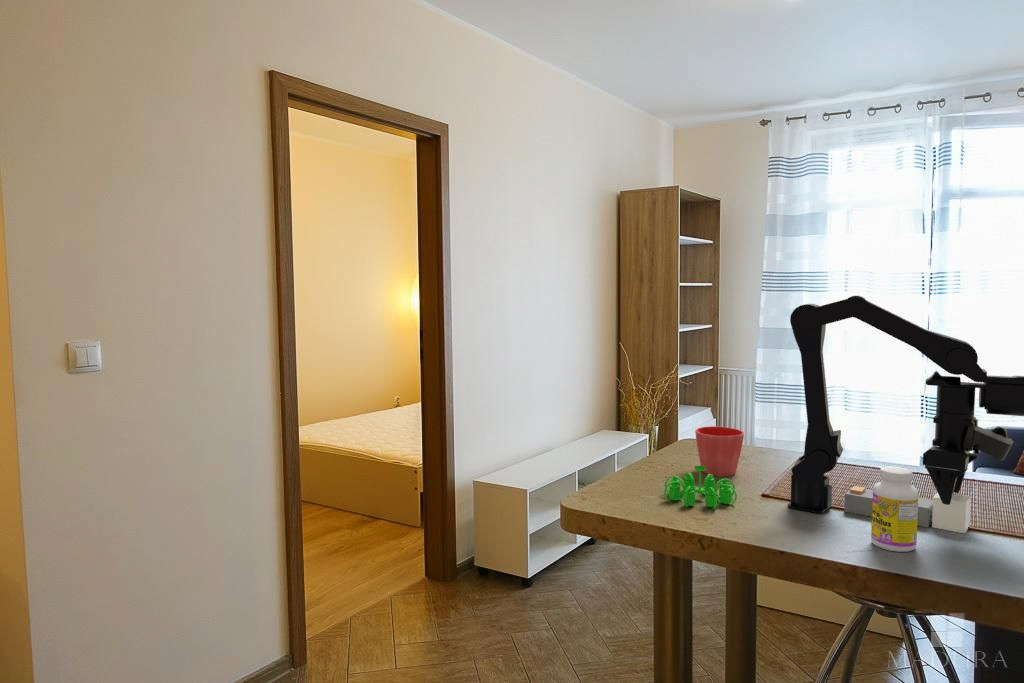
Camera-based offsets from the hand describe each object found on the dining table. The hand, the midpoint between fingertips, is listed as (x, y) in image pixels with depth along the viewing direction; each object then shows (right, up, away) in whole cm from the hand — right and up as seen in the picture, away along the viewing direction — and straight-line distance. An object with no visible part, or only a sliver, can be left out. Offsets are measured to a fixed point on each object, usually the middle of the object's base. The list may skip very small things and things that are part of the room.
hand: (951, 498), depth 126 cm
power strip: (-7, -5, +7) cm, 11 cm away
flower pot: (-30, -3, +39) cm, 49 cm away
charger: (-1, -5, +1) cm, 5 cm away
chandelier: (-40, -5, +18) cm, 44 cm away
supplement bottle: (-15, -6, -9) cm, 18 cm away
